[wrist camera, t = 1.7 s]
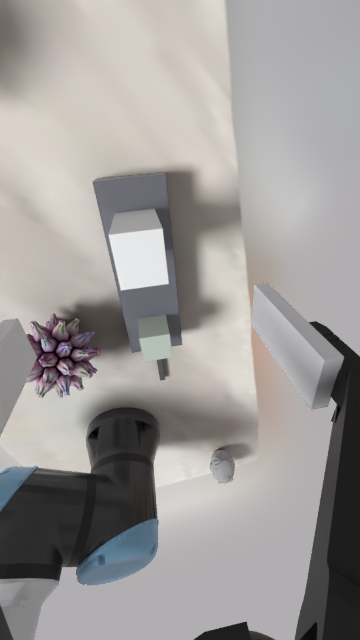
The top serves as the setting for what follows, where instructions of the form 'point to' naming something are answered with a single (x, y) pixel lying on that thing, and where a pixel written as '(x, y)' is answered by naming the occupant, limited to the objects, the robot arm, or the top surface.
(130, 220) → the white rectangular block
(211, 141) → the top surface
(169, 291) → the power strip
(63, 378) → the flower
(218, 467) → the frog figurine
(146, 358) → the block
